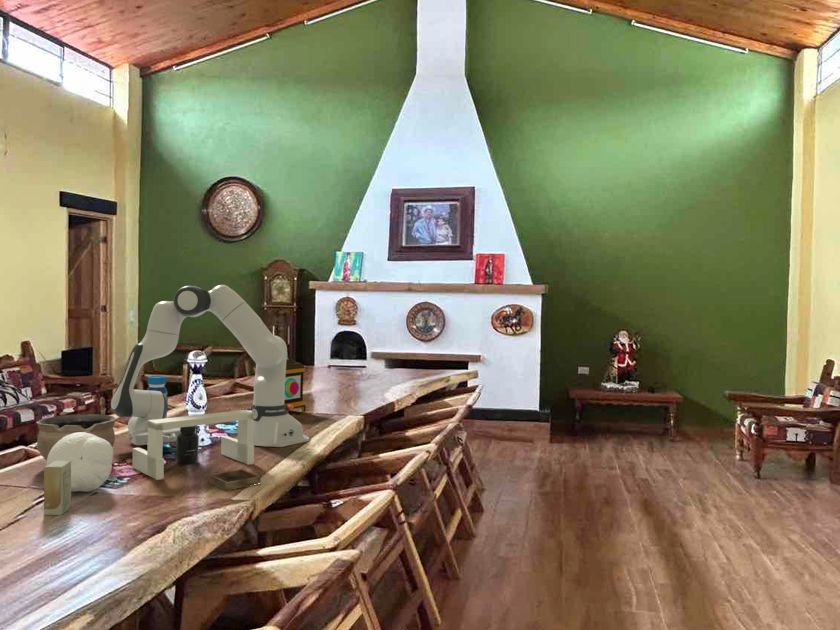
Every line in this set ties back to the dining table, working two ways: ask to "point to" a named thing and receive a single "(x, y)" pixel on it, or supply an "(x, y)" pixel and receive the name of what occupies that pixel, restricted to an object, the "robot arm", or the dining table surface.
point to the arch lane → (230, 447)
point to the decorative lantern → (293, 384)
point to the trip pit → (233, 479)
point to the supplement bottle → (187, 446)
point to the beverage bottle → (158, 385)
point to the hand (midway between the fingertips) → (172, 439)
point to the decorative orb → (84, 459)
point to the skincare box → (57, 487)
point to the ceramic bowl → (73, 429)
